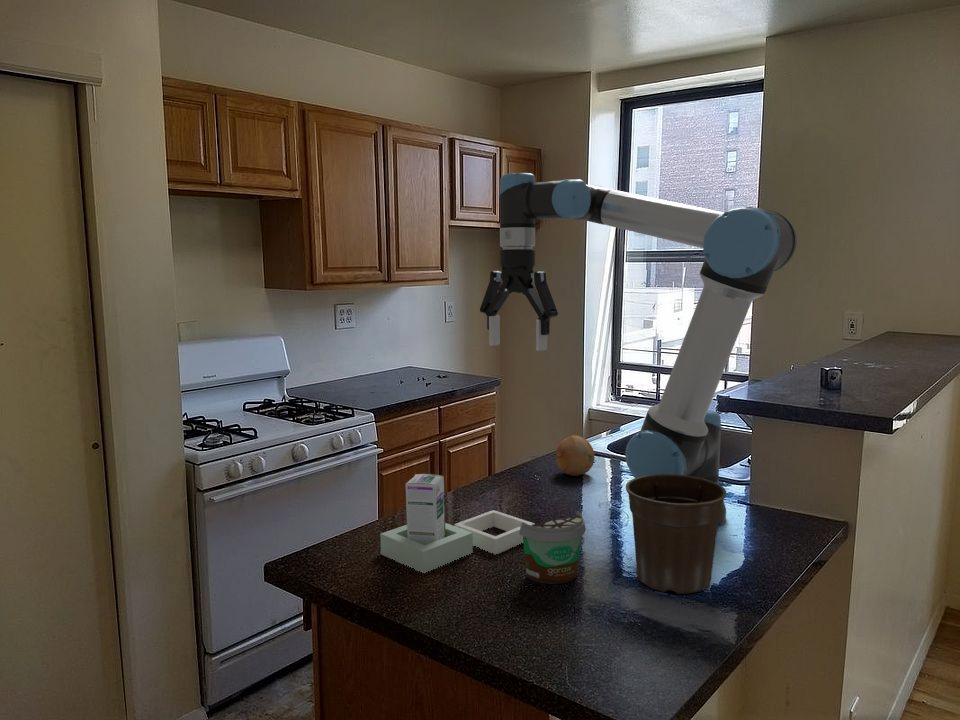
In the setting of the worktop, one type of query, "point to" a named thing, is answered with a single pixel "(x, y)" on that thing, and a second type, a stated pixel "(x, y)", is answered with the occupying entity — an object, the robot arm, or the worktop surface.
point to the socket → (426, 548)
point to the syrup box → (425, 508)
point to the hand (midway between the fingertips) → (517, 347)
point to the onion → (575, 455)
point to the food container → (553, 549)
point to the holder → (499, 521)
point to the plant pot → (675, 530)
